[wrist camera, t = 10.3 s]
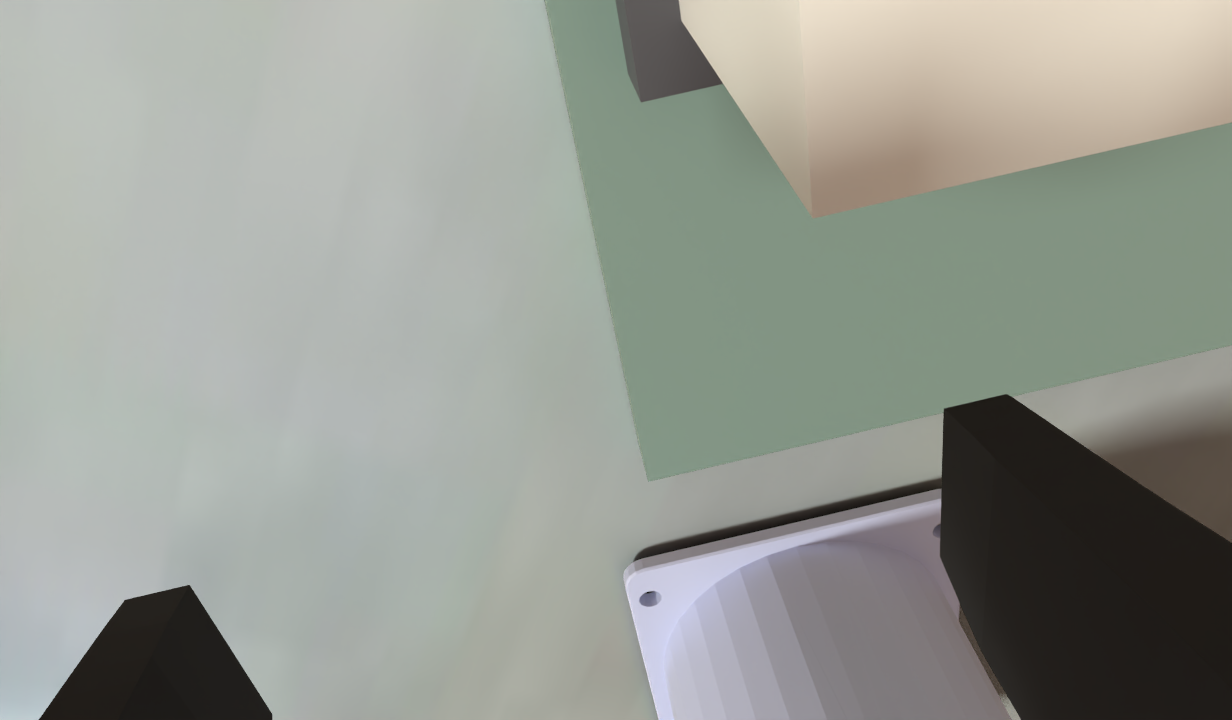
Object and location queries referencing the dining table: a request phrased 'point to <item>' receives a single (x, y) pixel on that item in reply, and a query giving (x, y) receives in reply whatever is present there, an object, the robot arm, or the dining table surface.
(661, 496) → the dining table surface
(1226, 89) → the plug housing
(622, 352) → the header board
